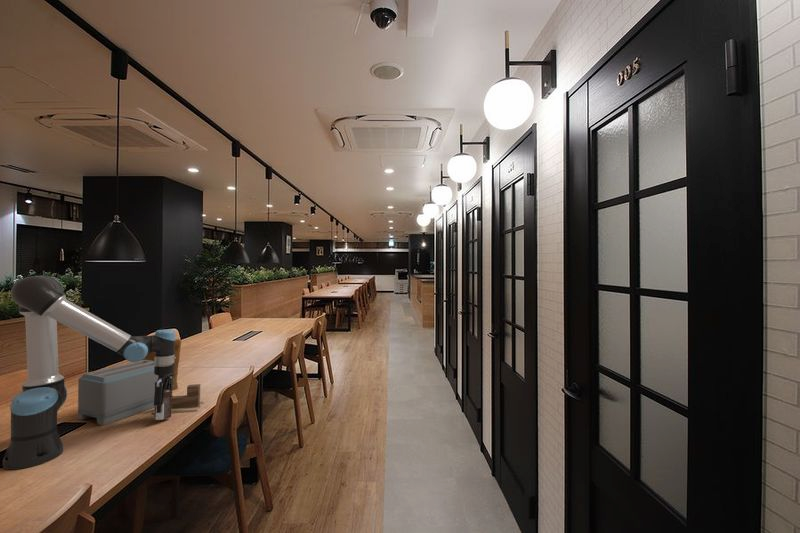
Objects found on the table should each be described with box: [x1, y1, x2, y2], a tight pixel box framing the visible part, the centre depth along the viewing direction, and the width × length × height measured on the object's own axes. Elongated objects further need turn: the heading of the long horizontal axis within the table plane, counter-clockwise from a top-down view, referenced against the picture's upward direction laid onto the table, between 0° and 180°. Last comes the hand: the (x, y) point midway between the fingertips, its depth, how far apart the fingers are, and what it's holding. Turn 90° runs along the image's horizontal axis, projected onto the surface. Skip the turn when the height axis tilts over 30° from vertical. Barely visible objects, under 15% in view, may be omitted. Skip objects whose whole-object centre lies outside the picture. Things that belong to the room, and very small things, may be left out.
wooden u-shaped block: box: [151, 383, 204, 416], centre depth 174 cm, size 10×19×11 cm, turn 104°
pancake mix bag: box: [142, 338, 182, 391], centre depth 197 cm, size 7×19×28 cm, turn 122°
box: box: [154, 389, 173, 421], centre depth 161 cm, size 6×4×12 cm
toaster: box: [77, 360, 163, 427], centre depth 173 cm, size 19×33×20 cm, turn 158°
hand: (162, 415), depth 161 cm, fingers closed on box, 7 cm apart
